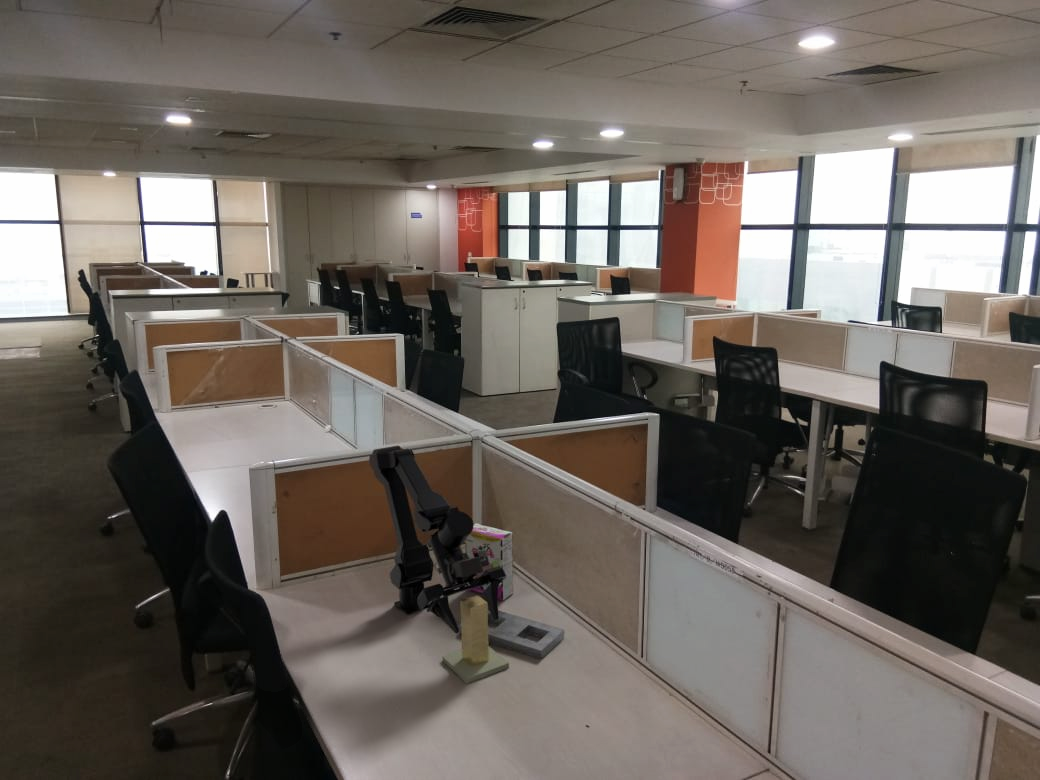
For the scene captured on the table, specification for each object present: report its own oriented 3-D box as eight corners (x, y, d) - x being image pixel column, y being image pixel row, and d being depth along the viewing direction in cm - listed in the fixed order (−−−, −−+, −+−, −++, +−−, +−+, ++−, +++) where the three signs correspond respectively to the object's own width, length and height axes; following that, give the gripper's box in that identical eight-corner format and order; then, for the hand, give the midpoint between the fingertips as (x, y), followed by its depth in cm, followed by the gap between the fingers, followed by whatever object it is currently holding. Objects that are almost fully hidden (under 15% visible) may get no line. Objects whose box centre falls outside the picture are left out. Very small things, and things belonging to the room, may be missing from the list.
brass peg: (462, 658, 160) (460, 600, 157) (478, 652, 162) (477, 594, 159) (471, 667, 156) (470, 608, 154) (488, 660, 159) (487, 602, 156)
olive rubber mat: (442, 660, 161) (442, 656, 160) (483, 646, 166) (483, 641, 166) (466, 683, 153) (466, 678, 152) (508, 667, 158) (508, 662, 158)
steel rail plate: (459, 633, 171) (459, 625, 171) (484, 614, 180) (484, 606, 179) (541, 659, 161) (541, 650, 160) (564, 637, 169) (564, 629, 169)
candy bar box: (465, 591, 191) (463, 528, 188) (477, 583, 195) (475, 522, 192) (503, 602, 185) (501, 538, 182) (514, 594, 190) (513, 531, 186)
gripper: (421, 551, 152) (449, 625, 145) (501, 530, 162) (531, 599, 156) (405, 573, 160) (431, 645, 154) (482, 552, 170) (510, 618, 164)
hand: (477, 626), depth 156 cm, fingers open, 9 cm apart
